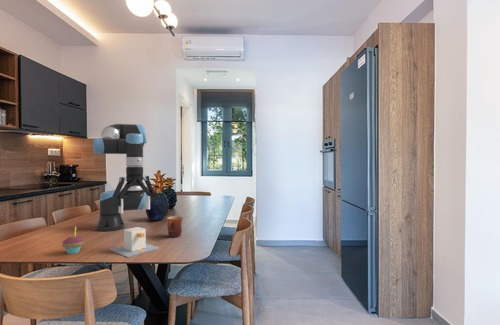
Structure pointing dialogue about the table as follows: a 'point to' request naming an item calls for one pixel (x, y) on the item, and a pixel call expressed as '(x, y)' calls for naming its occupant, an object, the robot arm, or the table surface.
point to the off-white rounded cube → (134, 238)
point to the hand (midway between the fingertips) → (134, 211)
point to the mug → (174, 226)
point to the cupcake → (73, 243)
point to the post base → (132, 253)
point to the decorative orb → (157, 210)
